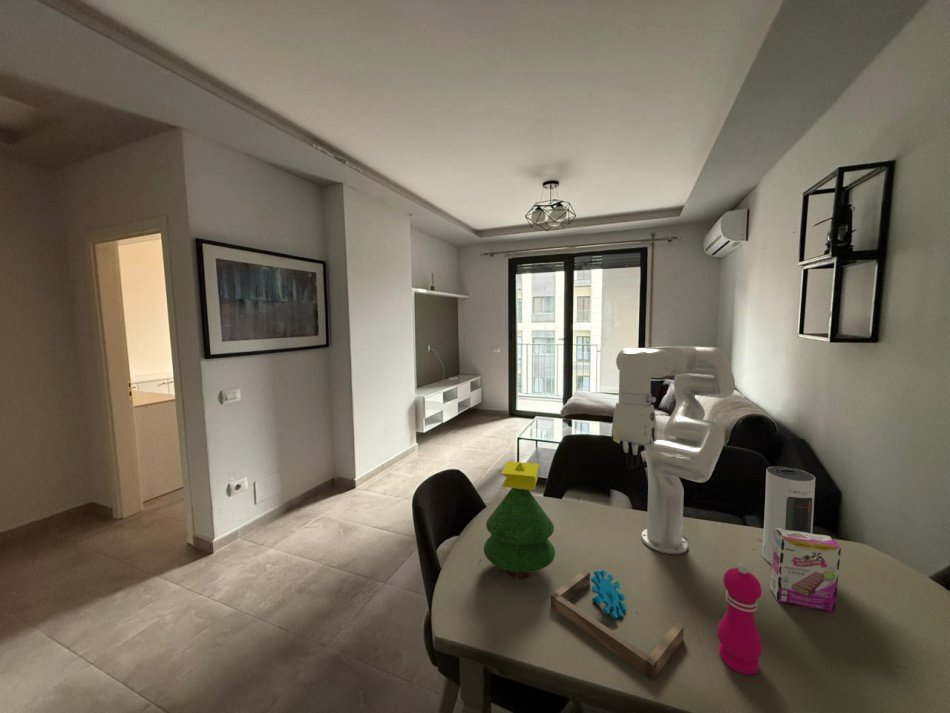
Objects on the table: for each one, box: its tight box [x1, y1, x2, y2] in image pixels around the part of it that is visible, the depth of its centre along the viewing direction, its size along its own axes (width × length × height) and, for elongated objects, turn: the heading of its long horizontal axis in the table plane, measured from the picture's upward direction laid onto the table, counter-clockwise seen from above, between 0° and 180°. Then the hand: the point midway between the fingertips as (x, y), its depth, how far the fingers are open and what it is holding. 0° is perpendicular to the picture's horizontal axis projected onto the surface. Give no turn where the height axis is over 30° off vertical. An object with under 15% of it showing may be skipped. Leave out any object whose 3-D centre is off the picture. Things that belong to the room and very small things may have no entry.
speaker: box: [761, 465, 816, 565], centre depth 103 cm, size 11×10×26 cm
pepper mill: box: [716, 563, 763, 675], centre depth 73 cm, size 7×7×20 cm
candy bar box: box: [769, 528, 842, 613], centre depth 88 cm, size 11×5×16 cm, turn 71°
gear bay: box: [550, 569, 685, 681], centre depth 83 cm, size 14×24×3 cm, turn 40°
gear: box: [590, 569, 627, 620], centre depth 88 cm, size 11×6×10 cm
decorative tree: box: [483, 460, 556, 580], centre depth 100 cm, size 19×19×30 cm
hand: (632, 467), depth 97 cm, fingers closed
